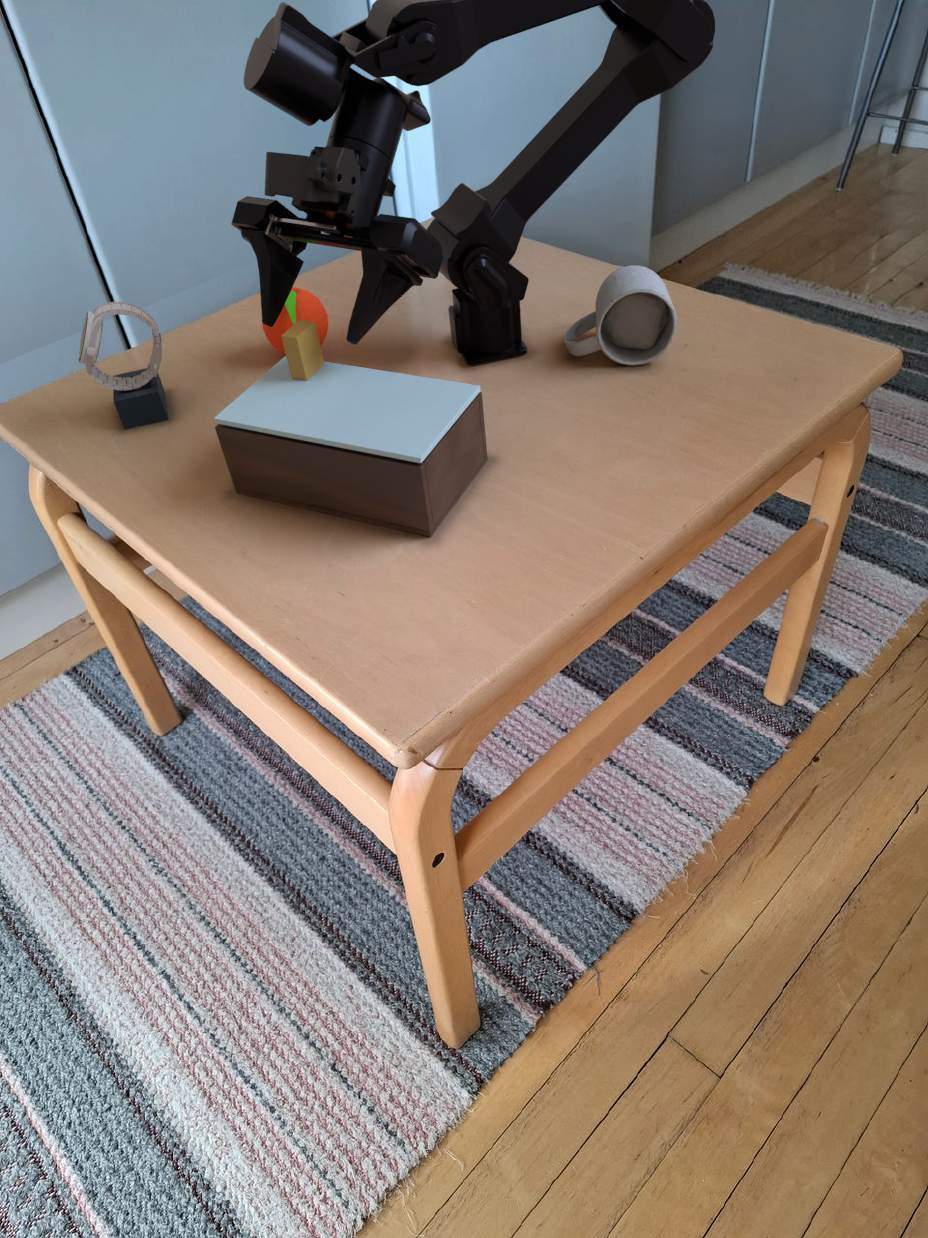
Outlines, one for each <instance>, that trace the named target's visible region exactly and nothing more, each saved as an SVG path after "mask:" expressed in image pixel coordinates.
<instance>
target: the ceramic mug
mask: <svg viewBox="0 0 928 1238" xmlns="http://www.w3.org/2000/svg"><path fill="white" fill-rule="evenodd" d="M677 319H678V318H677V313H676V309H675V307H674V304H673V302H672V299H671V296H670V293H669V291H668V289H667V286H666V284H665V282H664V281H663V279H662V278H661V276H659V275H658V274H657V273H656V272H655V271H654V270H652V269H650V268H648V267H646V266H644V265H637V264H631V265H625V266H622V267H620V268H619V267H618V268H617V269H616V270H614V271H613V272H611V273H610V274H609V275H608V276H606V278H605V279H604V280H603V282H602V283H601V285H600V287H599V289H598V291H597V295H596V297H595V310H594V311H593V312H590V313H589V314H587V315H585V316H583V317H581V318H580V319H578V320H577V321H575V322H574V323H573V324H572V325H571V326H570V327H569V328H568V330H566V332H565V334H564V337H563V342H564V345H565V347H566V349H567V351H568V353H569V354H570V355H571V356H575V357H582V356H583V357H584V356H587V355H590V354H593V353H596V352H598V351H602V353H603V354H604V355H605V356H606V357H607V358H609V360H611V361H613V362H615V363H617V364H621V365H625V366H641V365H645V364H648V363H651V362H652V361H654V360H656V359H658V358H659V357H661V356H662V355H663V354H664V353H665V352H666V351H667V349H668V348H669V347H670V346H671V344H672V342H673V340H674V338H675V335H676V332H677V325H678V324H677V323H678V321H677ZM594 328H595V332H596V333H595V334H593V335H592V336H590V337H587V338H584V339H581V340H578V339H579V338H581V336H582V335H584V334H586V333H588V332H589V331H591V330H592V329H594Z"/></svg>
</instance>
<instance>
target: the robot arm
mask: <svg viewBox="0 0 928 1238" xmlns="http://www.w3.org/2000/svg"><path fill="white" fill-rule="evenodd" d="M596 7H598V8H599V9H600V10H601V12H602V14H603V15H604V16H605V17H606V19H608V20H609V22H611V23H612V24H613V25H614V26H615V27H614V29H613V30H612V32H611V35H610V38H609V42H608V44H607V46H606V49H605V53H604V55H603V58H602V61H601V63H600V64H599V66H598V67H597V69H595V71H594V72H593V73H592V74H591V75H590V76H588V78H587V79H586V80H585V81H584V83H582V85H581V86H580V87H579V88H578V89H577V90H576V91H575V92H574V93H573V95H572V96H571V97H570V98H569V99H568V100H567V101H566V102H565V103H564V104H563V105H562V107H560V108H559V110H557V112H556V113H555V114H554V115H553V116H552V117H551V119H549V120H548V122H546V124H545V125H544V126H543V127H542V128H541V129H540V130H539V131H538V132H537V133H536V134H535V136H534V137H532V139H531V140H530V141H529V142H528V143H527V144H526V146H525V147H523V149H522V150H521V151H520V152H519V153H518V154H517V155H516V156H515V158H514V159H512V161H510V163H509V164H508V165H507V166H506V167H505V168H504V169H503V170H502V172H501V173H500V174H498V175H497V177H496V178H495V179H494V180H493V181H492V182H491V183H489V184H488V185H486V186H484V187H482V188H481V187H480V189H477V190H473V189H472V188H470V187H469V186H468V185H466V184H465V183H464V182H460V184H458V185H457V186H456V187H455V188H454V189H453V191H452V192H451V194H450V195H449V196H448V199H447V200H446V201H445V202H444V203H443V204H442V205H441V206H440V207H438V208H436V209H434V210H432V211H431V212H430V215H431V216H432V217H433V219H432V221H431V222H430V224H428V226H427V228H426V227H424V226H423V224H422V223H421V222H419V220H417V219H416V218H414V217H407V216H400V215H394V214H393V215H392V214H385V213H380V209H381V205H382V202H383V200H384V199H383V198H384V197H390V198H393V197H394V194H395V190H396V187H397V185H396V184H395V183H394V182H393V181H392V180H391V178H390V175H391V171H392V168H393V164H394V161H395V157H396V154H397V150H398V147H399V144H400V141H401V136H402V134H403V130H404V131H406V132H411V131H414V130H416V129H418V128H421V127H425V126H427V125H430V123H431V122H432V121H431V120H432V119H431V118H432V117H431V116H430V112H429V111H428V108H427V107H426V105H425V104H424V103H423V100H422V98H421V93H420V91H419V90H413V91H411V92H409V93H405V92H403V91H402V90H401V89H400V88H398V87H397V86H395V85H393V83H390V82H389V81H387V80H386V79H385V78H389V77H395V78H397V79H398V80H400V81H402V82H404V83H405V84H408V85H410V86H414V87H422V86H428V85H431V84H433V83H435V82H436V81H439V80H440V79H441V78H444V77H445V76H446V75H448V74H450V73H451V72H453V71H456V70H457V69H459V68H460V67H461V66H464V64H466V63H467V62H468V60H470V59H471V58H472V57H473V56H474V55H475V54H476V53H477V52H478V51H480V50H481V49H483V48H485V47H486V46H489V45H490V44H492V43H494V42H497V41H499V40H503V39H505V38H508V37H512V36H515V35H517V34H520V33H523V32H526V31H529V30H532V29H535V28H538V27H541V26H543V25H546V24H549V23H553V22H555V21H558V20H560V19H563V18H567V17H570V16H572V15H575V14H579V13H581V12H584V11H587V10H590V9H593V8H596ZM369 10H370V11H369V13H368V15H367V17H366V18H364V19H362V20H360V21H359V22H357V23H355V24H353V25H351V26H349V27H347V28H345V29H343V30H342V31H340V32H338V33H336V34H334V35H332V36H330V35H329V34H327V33H326V32H324V31H323V30H322V29H320V28H319V27H318V26H316V25H314V24H313V23H312V22H311V21H310V20H309V19H308V18H307V17H306V16H305V15H304V14H303V13H301V12H300V11H299V10H298V9H296V8H294V7H293V6H291V5H290V4H288V3H286V1H285V2H284V1H282V2H280V3H279V5H278V8H277V10H276V11H275V12H276V13H275V14H274V16H273V17H271V19H270V20H268V22H267V23H266V24H265V26H264V28H263V29H262V31H261V33H260V35H259V36H258V37H255V39H254V41H253V43H252V45H251V48H250V51H249V54H248V56H247V60H246V64H245V68H244V75H243V85H244V89H245V90H247V91H248V92H250V93H252V94H254V95H255V96H257V97H258V98H260V99H262V100H263V101H265V102H267V103H268V104H270V105H272V106H274V107H275V108H277V109H279V110H280V111H282V112H283V113H286V114H287V115H289V116H290V117H291V118H294V119H295V120H297V121H299V122H300V123H302V124H304V125H306V126H307V127H312V126H314V125H315V124H317V123H318V122H319V121H321V122H323V123H326V122H328V121H330V119H331V118H332V117H333V119H332V123H331V127H330V130H329V132H328V133H329V134H328V137H327V141H326V144H325V146H316V145H315V146H314V148H313V149H312V150H311V151H310V154H309V155H303V154H295V153H294V154H293V153H283V152H276V151H275V152H273V151H266V152H265V176H264V192H263V193H264V194H263V195H264V196H266V197H272V198H273V197H276V196H281V197H287V198H292V200H291V206H293V207H294V208H295V209H297V210H298V211H299V212H304V213H305V214H306V216H305V217H300V216H298V215H296V214H295V213H294V212H293V211H291V210H290V209H289V208H288V207H287V206H285V205H283V204H282V203H281V202H280V201H279V200H277V199H271V198H264V197H256V196H249V195H247V196H244V197H243V198H241V199H239V200H237V203H236V206H235V209H234V212H233V215H232V216H233V217H232V219H231V226H233V227H234V228H236V229H237V230H238V231H240V235H241V238H242V239H243V240H244V241H246V242H247V243H249V244H250V246H251V248H252V250H253V252H254V254H255V257H256V262H257V269H258V277H259V292H260V293H259V294H260V308H261V309H260V310H261V323H262V322H263V324H265V325H266V326H268V327H273V325H274V324H275V322H276V320H277V319H278V317H279V315H280V313H281V311H282V309H283V307H284V305H285V303H286V300H287V298H288V296H289V294H290V292H291V289H292V288H293V287H294V285H295V283H296V280H297V278H298V277H299V274H300V272H301V269H302V267H303V265H304V264H305V263H304V262H305V261H304V260H303V259H302V258H300V257H299V255H300V254H301V253H302V252H304V251H305V250H306V248H307V246H308V244H313V245H319V246H325V247H332V248H338V249H345V250H350V251H357V252H360V254H361V255H360V256H361V262H362V263H361V266H362V277H361V281H360V284H359V287H358V290H357V295H356V298H355V301H354V305H353V308H352V310H351V311H352V312H351V315H350V319H349V323H348V326H347V327H348V328H347V333H346V342H348V343H349V344H351V345H354V346H356V345H358V344H359V342H361V340H362V339H363V338H364V337H365V336H366V334H368V332H369V331H370V330H371V329H372V328H373V327H374V326H375V325H376V323H377V322H378V321H379V320H380V319H381V318H382V316H383V315H385V313H386V312H387V311H388V310H389V309H390V308H391V307H392V306H393V305H394V304H395V303H397V302H398V301H399V300H400V299H401V298H403V296H404V295H405V294H406V293H407V292H408V291H409V290H411V288H412V287H414V286H416V287H421V286H422V284H423V283H424V279H423V278H427V279H434V280H435V279H437V278H438V277H439V273H440V274H441V275H443V276H444V278H445V279H447V281H449V282H450V283H451V284H452V285H453V286H454V287H455V288H453V289H452V290H451V296H452V305H449V306H448V319H449V329H450V337H451V343H452V346H453V347H454V350H455V351H456V352H457V354H459V355H461V356H462V359H463V361H464V363H465V364H466V365H467V366H476V365H481V364H485V363H490V362H494V361H498V360H503V359H509V358H514V357H518V356H522V355H526V354H527V353H528V346H527V345H526V344H525V343H524V341H523V335H522V315H521V314H522V313H521V301H523V300H524V299H525V296H526V293H527V289H528V285H529V281H530V279H529V277H528V276H527V275H525V274H524V273H523V272H521V270H519V269H518V268H517V267H515V266H514V265H513V264H512V263H511V261H512V259H513V257H514V256H515V255H516V253H517V250H518V247H519V244H520V242H521V239H522V236H523V233H524V230H525V227H526V225H527V224H528V222H529V221H530V219H531V218H532V217H533V216H535V214H536V213H537V212H538V210H540V209H541V208H542V207H543V205H544V204H546V202H547V201H548V200H549V198H551V197H552V196H553V195H554V194H555V193H556V192H557V190H558V189H560V187H561V186H562V185H563V184H564V183H565V182H566V181H567V180H568V179H569V178H570V177H571V176H572V174H573V173H575V171H576V170H577V169H579V167H580V166H581V165H582V164H583V163H584V162H585V161H586V160H587V158H589V157H590V156H591V154H592V153H593V152H594V151H595V150H596V149H597V148H598V147H599V146H600V145H601V144H602V143H603V142H604V141H605V140H606V138H608V136H609V135H610V134H612V132H613V131H614V130H615V129H616V128H617V127H618V126H619V125H620V124H621V123H622V121H624V120H625V118H626V117H627V116H628V115H629V114H630V113H631V112H632V111H633V110H634V109H635V108H637V106H639V105H640V104H641V103H643V102H646V101H647V100H650V99H653V98H654V97H656V96H658V95H661V94H663V93H665V92H667V91H670V90H671V89H673V88H675V87H676V86H677V85H679V84H680V83H681V82H682V81H684V80H685V79H686V78H688V77H689V76H690V75H692V74H693V73H695V72H696V71H697V70H698V69H699V68H700V67H701V66H702V65H703V64H704V63H705V61H706V60H707V59H708V57H710V55H711V53H712V51H713V48H714V39H715V33H716V19H715V14H714V12H713V11H714V10H713V9H712V8H711V6H710V5H709V3H708V2H707V1H705V0H375V1H374V2H373V3H372V5H371V9H369ZM352 65H354V66H356V67H357V68H359V69H360V70H362V71H363V72H365V73H367V74H368V75H370V76H371V77H373V78H374V79H370V78H368V77H366V76H365V75H363V74H361V73H360V72H358V71H357V70H355V69H353V68H352ZM379 213H380V214H379Z"/></svg>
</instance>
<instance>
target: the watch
mask: <svg viewBox="0 0 928 1238" xmlns="http://www.w3.org/2000/svg"><path fill="white" fill-rule="evenodd" d="M117 315H121V316H129V317H132V318H134V319H138V320H139V321H141V322H143V324H146V326H147V327H148V328H149V329H150V330H151V333H152V349H151V354H150V358H149V360H148V363H147V364H146V366H147V367H146V368H141V369H137V370H133V371H129V372H123V373H118V374H114V375H111V374H108V373H106V372H104V371H103V370H101V369H99V368H98V367H96V365H95V364H96V363H97V361H98V358H99V353H100V349H101V343H102V336H103V330H104V329H103V328H104V318H106V317H108V316H117ZM79 342H80V343H79V349H78V350H79V351H78V363H79V364H81V365H84V369H85V372H86V373H87V375H88V376H89V377H91V378H92V379H93V380H94V381H95V382H97V383H98V384H99V385H101V386H103V387H105V388H108V389H111V390H112V392H113V393H112V394H113V396H112V397H113V399H112V400H113V404H114V406H115V409H116V411H117V414H118V417H119V419H120V421H121V423H122V424H121V425H122V427H123V428H124V430H129V429H134V428H138V427H141V426H146V425H150V424H155V423H159V422H164V421H167V420H169V412H168V403H167V394H166V391H165V388H164V385H163V382H162V379H161V377H160V374H159V369H160V367H161V362H162V354H163V341H162V333H161V332H160V331H159V327H158V324H157V323H156V321H155V320H154V318H153V317H152V316H151V314H149V313H147V311H145V309H142V308H141V307H138V306H137V305H135V304H132V303H128V302H125V301H110V302H105V303H102V304H99V305H97V306H96V307H95V308H94V309H93V311H90V310H88V311H87V312H86V314H85V317H84V321H83V325H82V331H81V336H80V341H79Z"/></svg>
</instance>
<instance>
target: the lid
mask: <svg viewBox="0 0 928 1238" xmlns="http://www.w3.org/2000/svg"><path fill="white" fill-rule="evenodd" d="M281 337H282V341H283V345H284V349H285V353H286V354H285V356H283V357H282V358H281V359H280V360H279V361H277V362H276V363H275V364H274V365H272V366H271V368H269V369H268V370H267V371H266V372H265V373H264V374H263V375H262V376H260V377H259V378H258V379H257V380H255V382H254V383H253V384H251V385H250V386H249V387H248V388H246V389H245V390H244V391H243V392H242V393H240V394H239V396H237V397H236V398H235V399H234V400H233V401H231V403H230V404H228V405H227V406H226V407H224V409H222V411H220V412H219V413H218V414H217V415H216V416H214V417H213V421H214V424H216V425H217V424H222V425H227V426H232V427H237V428H242V429H247V430H252V431H258V432H263V433H268V434H273V435H278V436H283V437H288V438H293V439H298V440H304V441H309V442H314V443H319V444H324V445H329V446H334V447H339V448H345V449H350V450H355V451H360V452H365V453H370V454H375V455H380V456H386V457H391V458H396V459H401V460H406V461H411V462H416V463H422V462H423V461H424V459H425V458H426V457H427V456H428V455H429V453H430V452H431V451H432V450H433V448H434V447H435V446H436V445H437V444H438V442H439V441H440V440H441V439H442V437H443V436H444V435H445V434H446V433H447V431H448V430H449V429H450V428H451V426H452V425H453V424H454V423H455V422H456V420H457V419H458V418H459V417H460V415H461V414H462V413H463V412H464V411H465V409H466V408H467V407H468V406H469V405H470V403H471V402H472V401H473V400H474V398H475V397H476V396H477V395H478V394H479V392H482V390H481V385H478V384H471V383H466V382H458V381H451V380H446V379H440V378H439V379H438V378H433V377H425V376H421V375H413V374H407V373H401V372H394V371H388V370H381V369H375V368H368V367H361V366H356V365H350V364H349V365H348V364H344V363H336V362H330V361H325V360H324V356H323V352H322V345H321V346H320V342H319V337H318V332H317V328H316V323H315V322H311V321H304V320H299V321H298V322H297V323H296V324H295V325H294V326H292V327H291V328H290V329H289V330H288V331H286V332H285V333H284V334H283V335H282V336H281Z"/></svg>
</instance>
